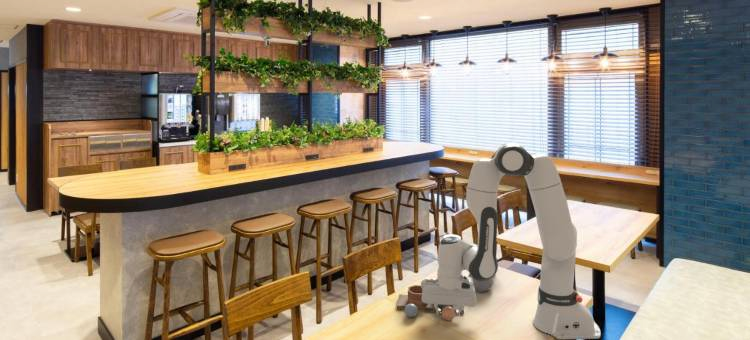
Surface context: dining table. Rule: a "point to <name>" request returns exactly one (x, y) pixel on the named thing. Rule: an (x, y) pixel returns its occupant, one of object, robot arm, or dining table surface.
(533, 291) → the dining table surface
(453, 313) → the terracotta ball
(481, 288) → the coffee pot
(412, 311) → the slate ball
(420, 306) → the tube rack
